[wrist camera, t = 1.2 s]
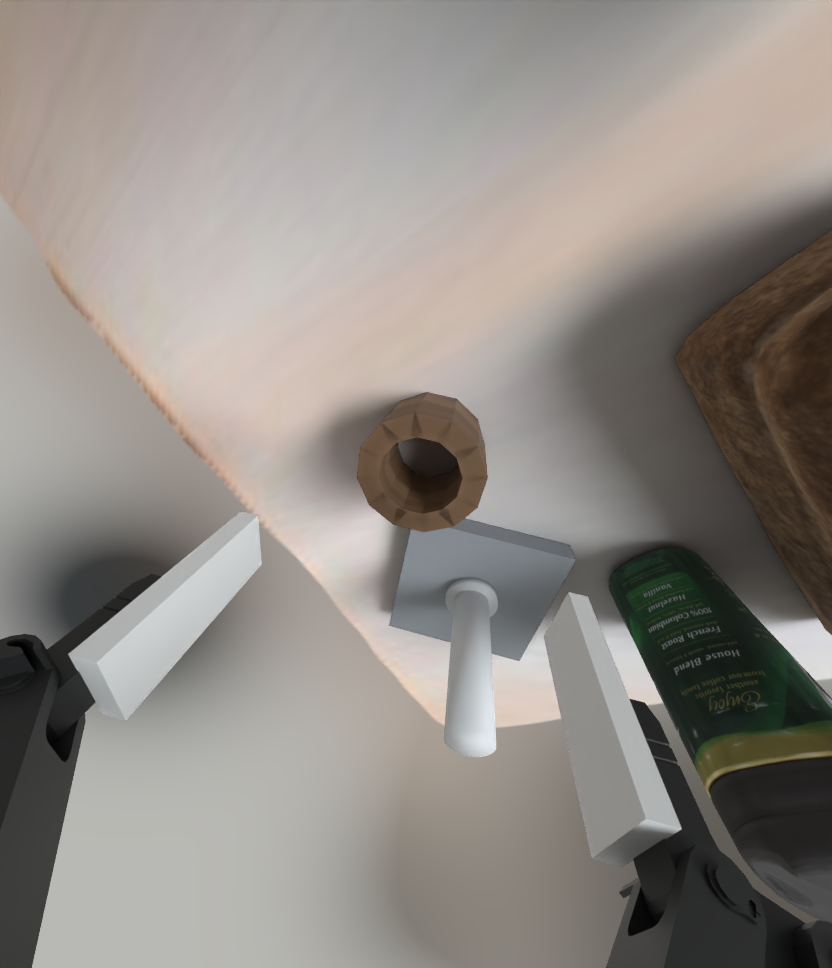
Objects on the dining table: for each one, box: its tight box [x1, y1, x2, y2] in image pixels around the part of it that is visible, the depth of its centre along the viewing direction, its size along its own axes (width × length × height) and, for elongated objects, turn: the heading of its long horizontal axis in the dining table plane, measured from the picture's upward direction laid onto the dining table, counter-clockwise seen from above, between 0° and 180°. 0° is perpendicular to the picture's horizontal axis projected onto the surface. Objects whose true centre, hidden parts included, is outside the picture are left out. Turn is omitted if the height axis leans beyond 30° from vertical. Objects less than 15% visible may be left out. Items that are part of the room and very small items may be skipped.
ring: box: [357, 392, 487, 532], centre depth 24 cm, size 8×8×6 cm
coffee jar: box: [609, 548, 832, 923], centre depth 21 cm, size 10×8×19 cm
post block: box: [389, 519, 576, 757], centre depth 26 cm, size 14×14×14 cm
